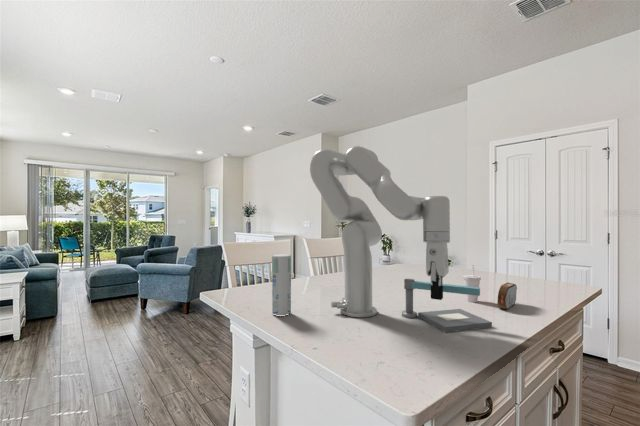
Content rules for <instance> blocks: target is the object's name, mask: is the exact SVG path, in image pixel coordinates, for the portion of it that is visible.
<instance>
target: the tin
mask: <svg viewBox="0 0 640 426" xmlns="http://www.w3.org/2000/svg"><path fill="white" fill-rule="evenodd" d="M517 290H518V287H517V284H516V283H512V282H505V283H504V284H501V285H500V287H499V290H498V294H497V307H498V309H502V310H509V309H511V308H512V307H513V306H515V304H516V301H517Z"/></svg>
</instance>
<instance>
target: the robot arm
mask: <svg viewBox="0 0 640 426" xmlns="http://www.w3.org/2000/svg"><path fill="white" fill-rule="evenodd" d="M309 165H310V167H309V172H310V178H311V179H312V183H313V184H314V185H315V188H316V189H317V190H318V191H319V193H320V195H321V196H322V199H323V201H324V203H325V204H326V206H327V208H328V209H329V211H330V213H331V215H332V216H333V219H335V220H336V221H338V222H341V223H347V224H346V225H345V226H344V227H343V228H342V231H341V240H342V241H341V242H342V247H343V248H342V249H343V257H344V258H343V259H344V267H343V268H344V297H341V300H339V301H331V302H330V305H331V308H337V310H338V309H339V310H340V311H339V312H340V313H341V314H342V315H344V316H346V315H347V317H351V318H369V317H374V316H375V315H376V314H377V313H378V308H376V306H373V258H372V251H371V248H370V247H373V246H375V245H377V244H378V243H380V241H381V239H382V235H383V234H382V229H381V226H380V224H379V222H378V221H377V219H376V217H375V215H374V214H373V213H372V211H371V210H370V208H369V206H368V204H366V202H365V201H364V200H363V199H361V198H360V197H357V196H353V195H352V196H351V195H350V194H349V193H348V192H347V190H346V189H345V187H344V186H343V183H342V182H341V181H340V180H339V179H338V178H337V177H336V176H353V175H356V176H358V178H359V179H361V180H362V181H363V182H364V184H365V185H367V186H368V187H369V188H370V190H371V191H372V192H371V193H373V195H374V196H375V199H377V201H378V202H379V204H381V205H382V206H383V208H385V209H386V210H387V211H388V212H389V213H390V215H392V216H394V217H395V218H396V219H398V220H400V221H421V220H422V241H423V243H426V247H425V248H426V249H425V254H426V255H425V271H426V275H427V276H428V277H430V283H431V290H430V299H431V300H438V301H439V300H440V301H442V300H443V299H444V292H443V285H442V284H444V283H443V281H444V280H443V278H445V277H446V276H447V275H448V274H449V273H450V272H449V267H450V266H449V252H448V251H449V250H448V249H449V248H448V243H449V244H450V243H451V232H450V231H451V227H450V226H451V222H450V221H451V217H450V214H451V213H450V209H451V208H450V199H449V197H448V196H444V195H430V196H429V195H428V196H425V197H417V196H413V195H408V194H407V192H405V191H404V190H402V188H401V187H400V186H398V185H397V183H395V182H394V181H393V179H392V176H391V171H390V170H389V169H388V167H386V165H384V164H383V163H382V162H381V161H379V157H378V155H377V154H376V153H375V151H373V150H370V149H368V148H366V147H363V146H359V145H355V146H352V147H351V148H349V149H348V150H347V151H346V153H343V152H339V151H336V150H333V149H327V148H324V149H323V148H322V149H319V150H318V151H316V152H315V153H314V155H312V158H311V161H310V164H309ZM335 175H336V176H335Z"/></svg>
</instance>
